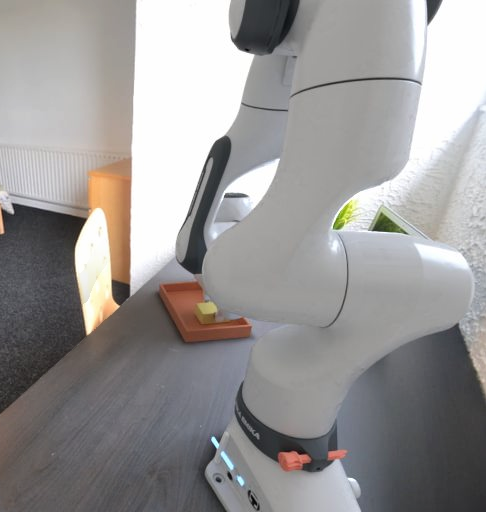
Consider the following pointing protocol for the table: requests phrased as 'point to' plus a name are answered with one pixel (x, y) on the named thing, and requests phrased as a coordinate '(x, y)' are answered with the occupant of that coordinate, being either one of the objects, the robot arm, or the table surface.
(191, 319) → the orange tray
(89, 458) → the table surface
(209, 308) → the sponge
